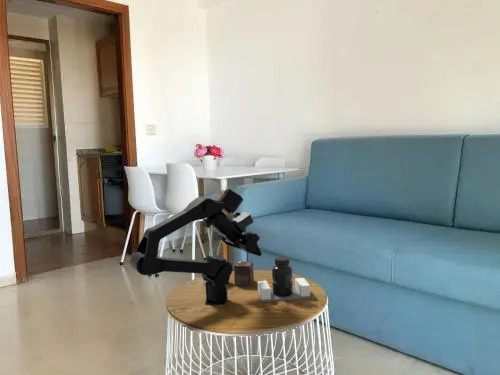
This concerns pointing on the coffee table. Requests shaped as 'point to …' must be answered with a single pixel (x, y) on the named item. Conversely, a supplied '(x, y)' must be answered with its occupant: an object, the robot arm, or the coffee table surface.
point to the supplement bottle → (282, 277)
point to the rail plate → (298, 293)
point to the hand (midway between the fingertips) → (253, 252)
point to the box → (243, 273)
